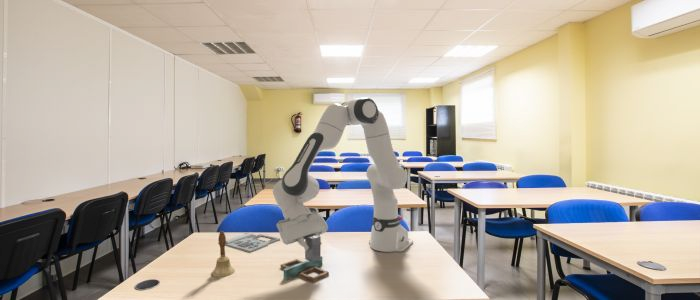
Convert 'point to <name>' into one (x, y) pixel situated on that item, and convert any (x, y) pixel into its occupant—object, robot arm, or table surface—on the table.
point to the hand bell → (222, 260)
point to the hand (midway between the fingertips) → (314, 247)
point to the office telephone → (249, 241)
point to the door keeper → (304, 269)
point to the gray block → (313, 247)
